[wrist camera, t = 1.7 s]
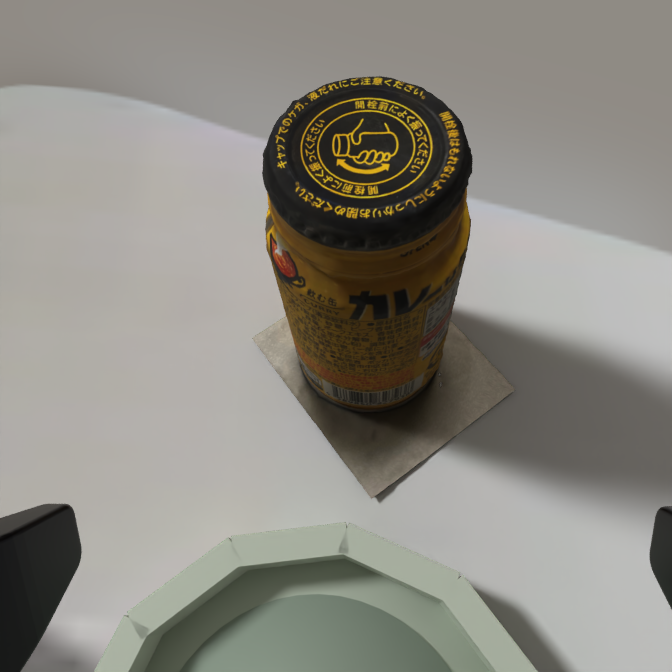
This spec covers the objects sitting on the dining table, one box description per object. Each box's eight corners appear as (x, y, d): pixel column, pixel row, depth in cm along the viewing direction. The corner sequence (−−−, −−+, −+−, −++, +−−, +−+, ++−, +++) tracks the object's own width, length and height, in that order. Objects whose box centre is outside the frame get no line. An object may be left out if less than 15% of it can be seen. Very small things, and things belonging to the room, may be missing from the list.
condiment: (385, 253, 27) (391, 12, 17) (514, 391, 24) (626, 204, 13) (252, 340, 26) (163, 138, 15) (371, 500, 23) (366, 390, 12)
